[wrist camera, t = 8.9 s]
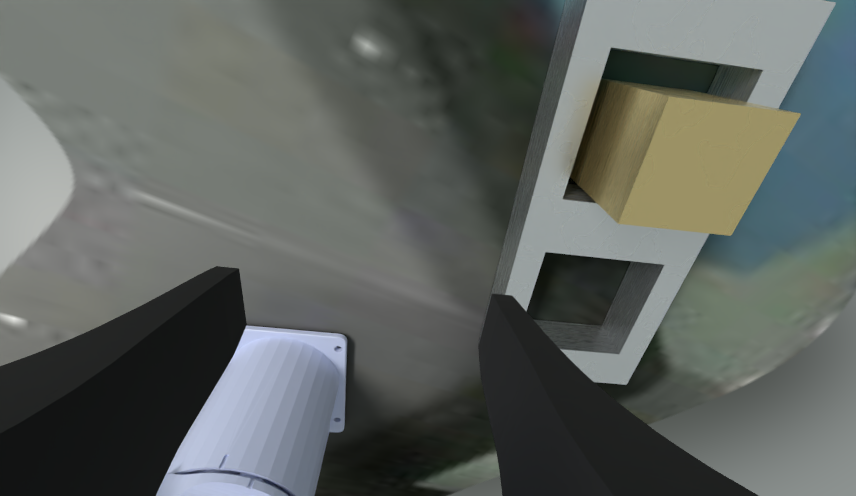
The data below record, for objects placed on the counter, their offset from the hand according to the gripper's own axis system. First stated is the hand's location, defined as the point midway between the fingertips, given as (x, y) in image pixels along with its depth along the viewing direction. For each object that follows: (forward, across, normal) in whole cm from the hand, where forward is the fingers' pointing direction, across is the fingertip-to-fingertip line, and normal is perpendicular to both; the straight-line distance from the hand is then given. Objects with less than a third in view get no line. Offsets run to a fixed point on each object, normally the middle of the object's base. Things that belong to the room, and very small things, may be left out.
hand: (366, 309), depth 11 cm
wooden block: (+10, -11, -4) cm, 15 cm away
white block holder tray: (+10, -11, 0) cm, 15 cm away
